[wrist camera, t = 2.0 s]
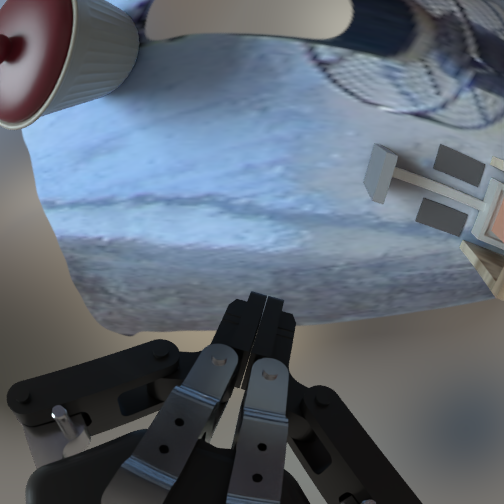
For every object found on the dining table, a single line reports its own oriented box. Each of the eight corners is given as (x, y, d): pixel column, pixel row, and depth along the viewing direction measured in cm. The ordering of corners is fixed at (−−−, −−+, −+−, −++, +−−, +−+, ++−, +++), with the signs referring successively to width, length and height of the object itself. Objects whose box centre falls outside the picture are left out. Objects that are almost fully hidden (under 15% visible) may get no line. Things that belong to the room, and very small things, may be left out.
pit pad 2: (423, 197, 35) (424, 198, 34) (466, 214, 34) (467, 215, 34) (415, 220, 36) (415, 221, 36) (458, 235, 35) (458, 236, 35)
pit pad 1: (440, 144, 31) (441, 144, 31) (483, 163, 30) (484, 164, 30) (433, 168, 33) (433, 168, 32) (476, 186, 32) (477, 187, 32)
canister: (163, -16, 28) (54, -66, 10) (162, 104, 37) (38, 121, 18) (66, 17, 32) (-41, 12, 14) (65, 120, 40) (-45, 150, 22)
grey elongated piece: (359, 194, 36) (367, 214, 29) (377, 131, 32) (390, 137, 26) (517, 252, 33) (541, 277, 27) (537, 202, 29) (566, 222, 23)
